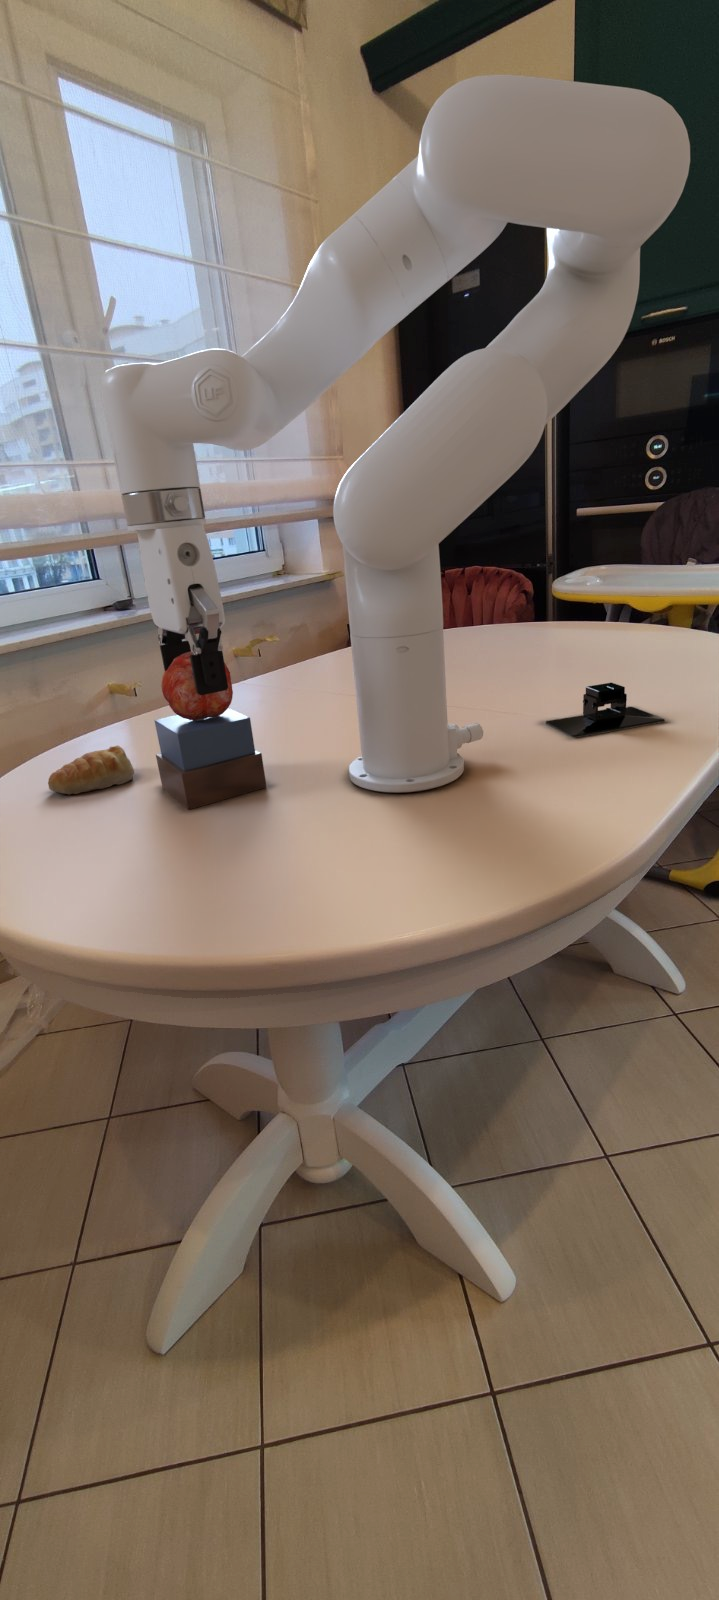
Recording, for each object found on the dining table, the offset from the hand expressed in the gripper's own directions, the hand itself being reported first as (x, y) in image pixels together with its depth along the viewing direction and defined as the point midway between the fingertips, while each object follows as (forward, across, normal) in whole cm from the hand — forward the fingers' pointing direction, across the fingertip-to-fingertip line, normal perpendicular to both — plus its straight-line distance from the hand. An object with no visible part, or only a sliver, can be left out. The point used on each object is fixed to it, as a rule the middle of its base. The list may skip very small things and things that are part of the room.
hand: (196, 685), depth 77 cm
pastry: (+12, +12, +10) cm, 20 cm away
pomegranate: (+4, 0, 0) cm, 4 cm away
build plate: (+12, -15, -46) cm, 50 cm away
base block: (+12, 0, 0) cm, 12 cm away
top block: (+8, 0, 0) cm, 8 cm away
